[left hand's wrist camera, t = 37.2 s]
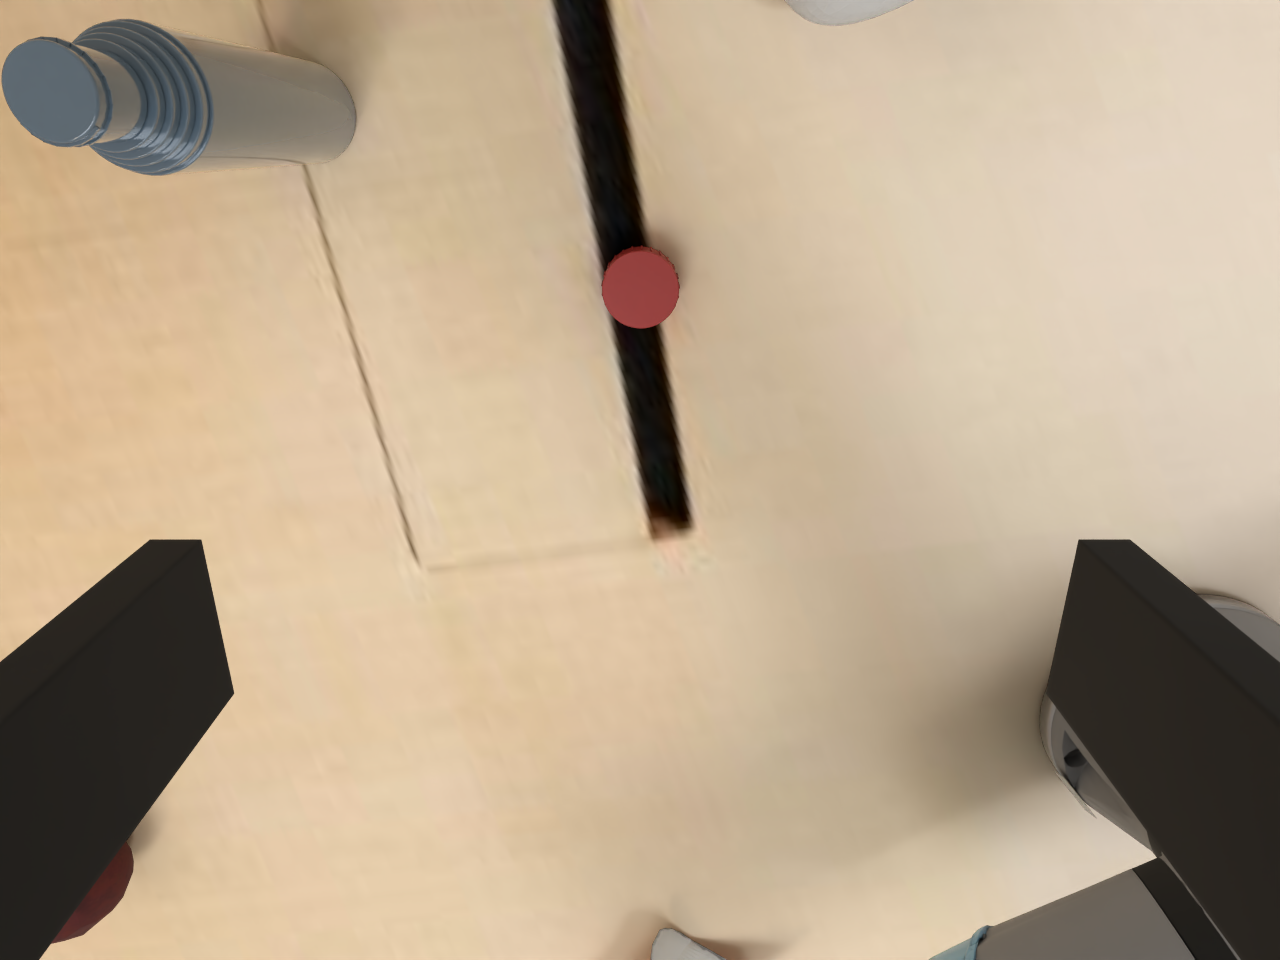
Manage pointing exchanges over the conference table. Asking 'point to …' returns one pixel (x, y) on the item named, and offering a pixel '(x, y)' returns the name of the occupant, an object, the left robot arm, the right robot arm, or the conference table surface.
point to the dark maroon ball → (100, 896)
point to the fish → (679, 947)
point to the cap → (640, 287)
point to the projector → (842, 10)
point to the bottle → (177, 100)
